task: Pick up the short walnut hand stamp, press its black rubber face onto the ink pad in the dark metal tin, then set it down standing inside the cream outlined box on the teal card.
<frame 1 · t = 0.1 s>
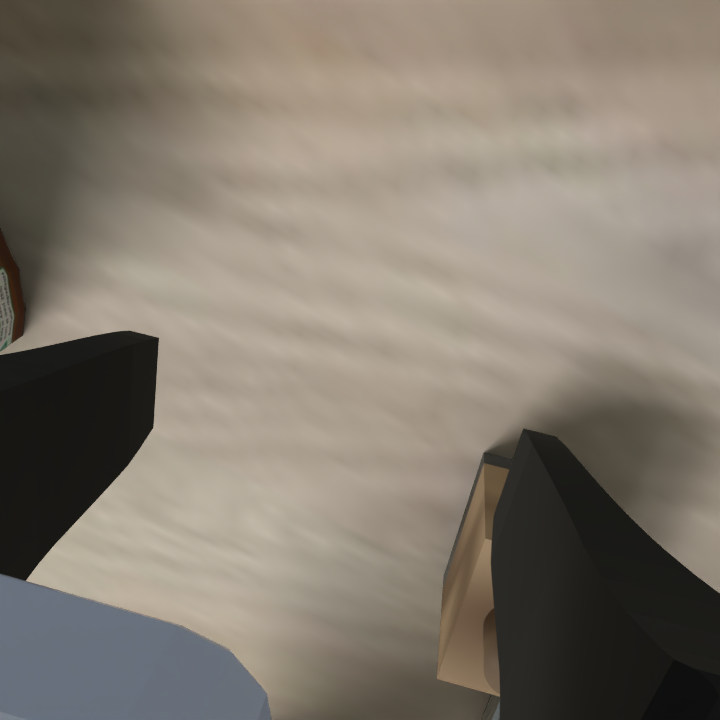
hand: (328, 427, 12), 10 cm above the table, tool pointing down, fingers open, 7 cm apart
ink pad: (560, 713, 27), on the table
hand stamp: (514, 530, 24), on the table
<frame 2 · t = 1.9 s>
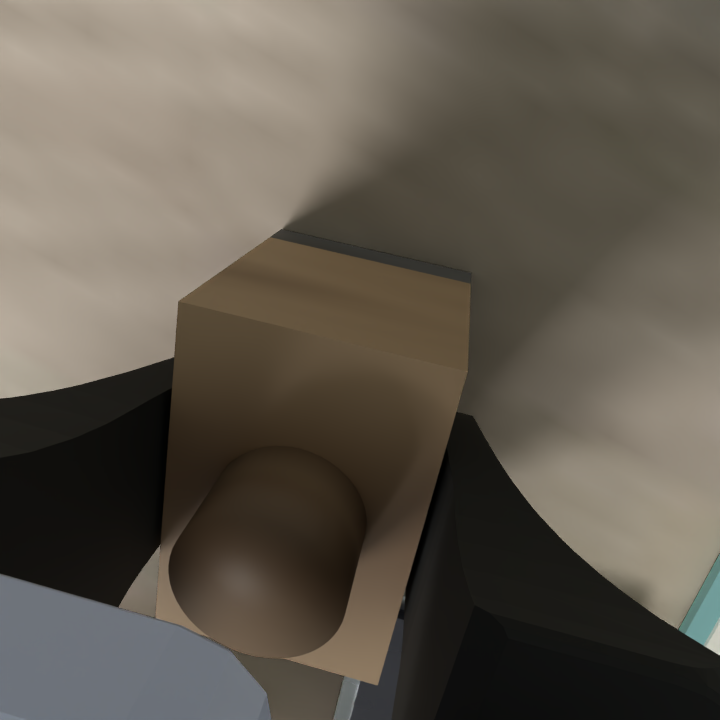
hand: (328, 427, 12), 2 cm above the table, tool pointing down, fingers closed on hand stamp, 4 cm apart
ink pad: (452, 694, 17), on the table
hand stamp: (349, 379, 14), on the table, touching gripper
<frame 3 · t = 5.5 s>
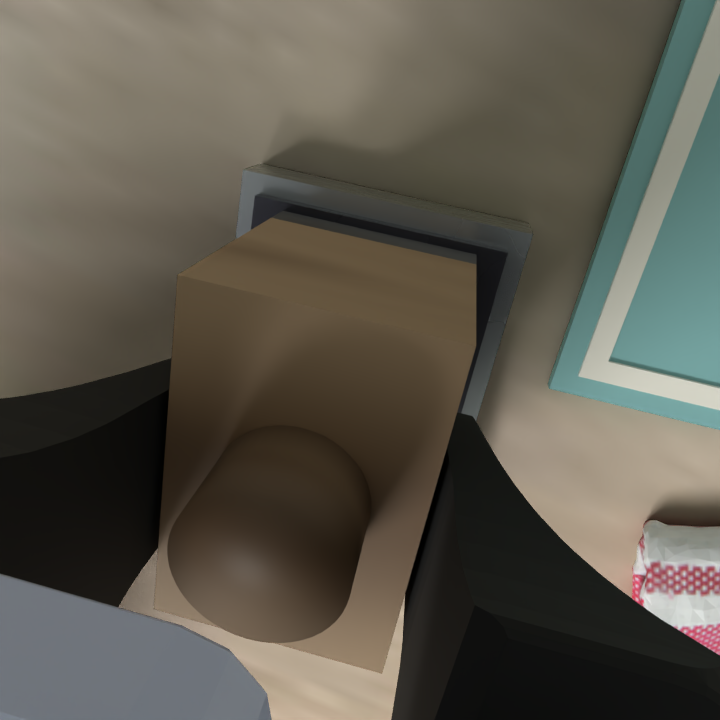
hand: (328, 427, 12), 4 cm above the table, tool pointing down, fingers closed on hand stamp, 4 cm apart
ink pad: (358, 356, 16), on the table
hand stamp: (351, 365, 14), point 1 cm above the table, touching gripper, ink pad
when the fingers open (3 cm above the table, at t = 9.1 s): hand stamp stays where it is, resting on marked card.
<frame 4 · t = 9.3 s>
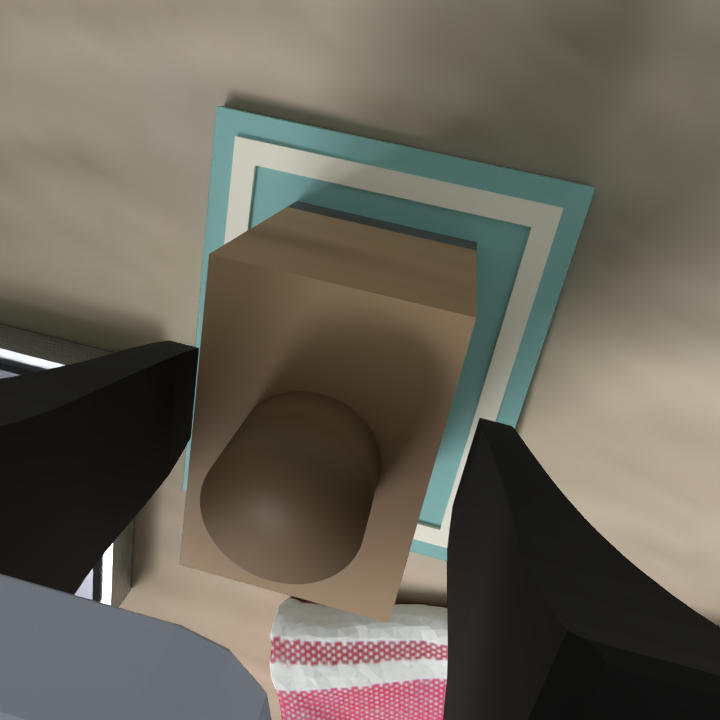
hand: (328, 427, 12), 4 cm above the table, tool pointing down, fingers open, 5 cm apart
ink pad: (37, 459, 18), on the table
marked card: (358, 358, 15), on the table
hand stamp: (359, 346, 15), resting on marked card
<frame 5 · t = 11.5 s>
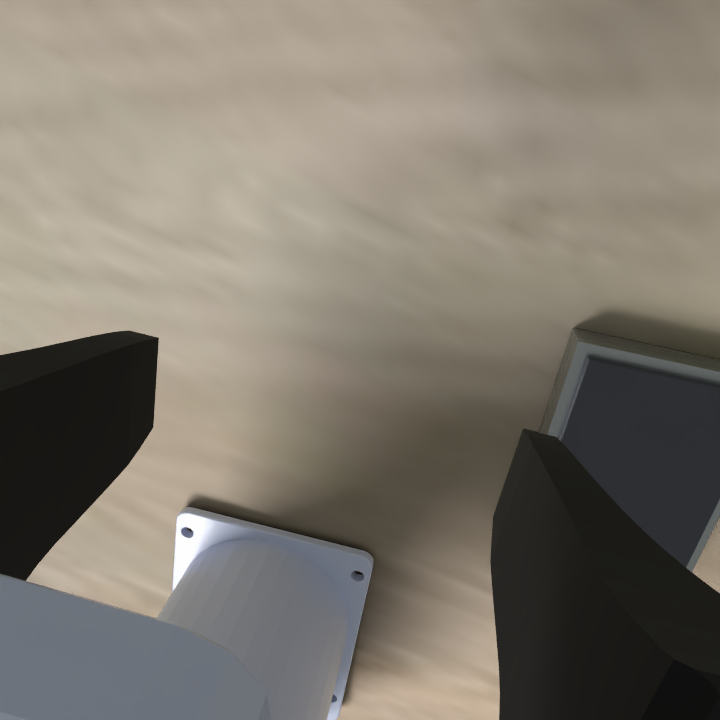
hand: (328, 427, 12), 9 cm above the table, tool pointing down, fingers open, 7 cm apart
ink pad: (626, 455, 22), on the table
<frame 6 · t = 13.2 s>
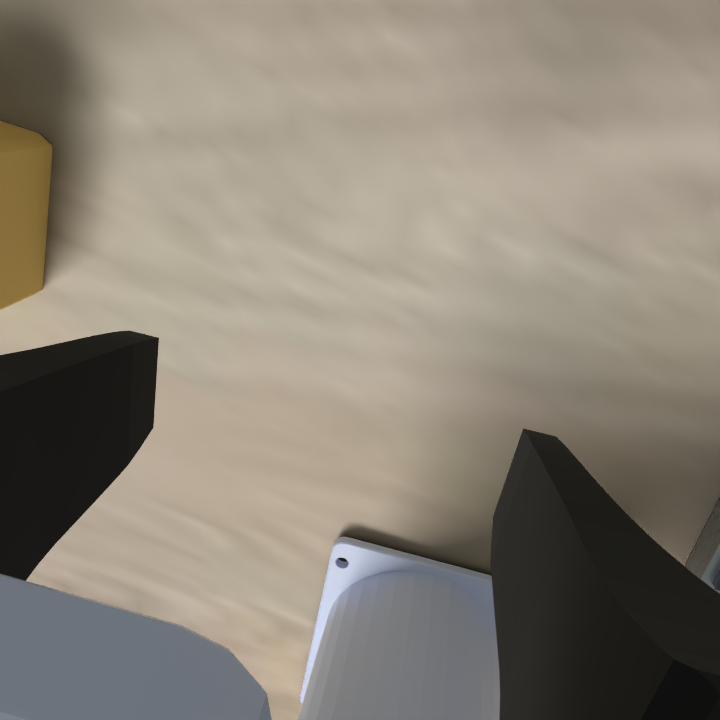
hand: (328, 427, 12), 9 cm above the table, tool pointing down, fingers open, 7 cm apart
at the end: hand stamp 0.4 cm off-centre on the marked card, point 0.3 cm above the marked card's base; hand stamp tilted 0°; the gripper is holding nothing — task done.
